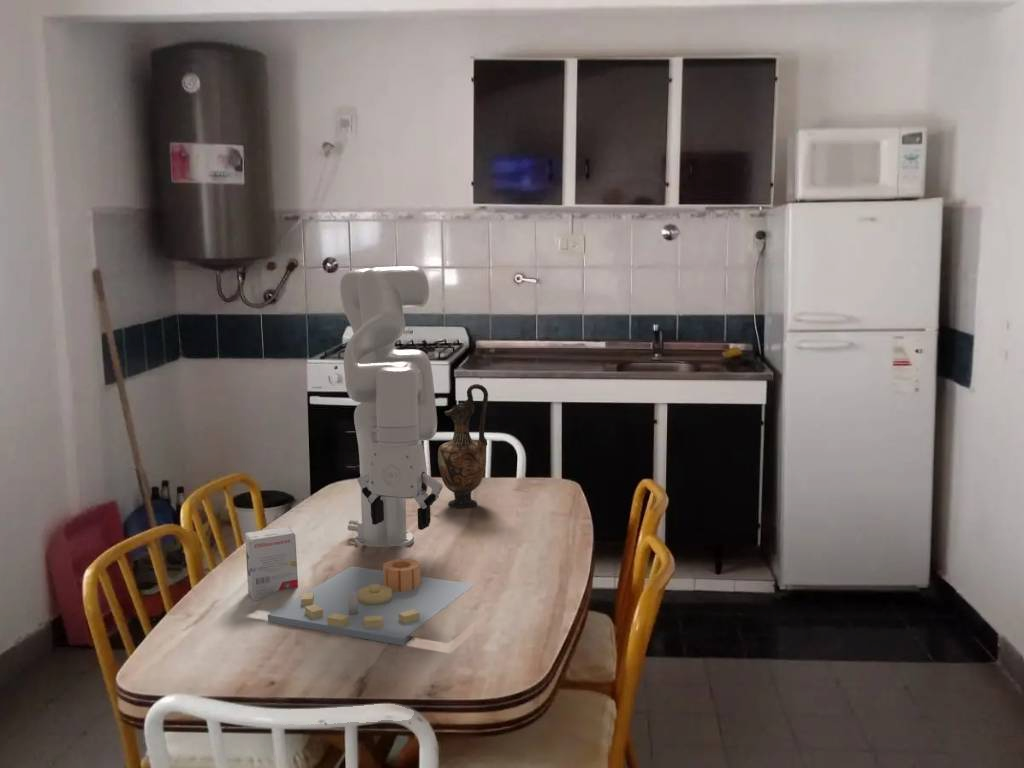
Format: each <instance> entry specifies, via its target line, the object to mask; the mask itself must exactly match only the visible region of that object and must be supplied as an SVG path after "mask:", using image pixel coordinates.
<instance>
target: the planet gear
mask: <svg viewBox="0 0 1024 768" xmlns="http://www.w3.org/2000/svg"><path fill="white" fill-rule="evenodd" d="M382 571H383V586H387V587H390V588H391V590H392V591H396V592H399V591H401V592H404V591H410V590H412V589H416V588H418V587H419V586H420V585H421V584H420V576H421V564H420V563H419V561H417V560H415V559H410V558H397V559H396V558H395V559H391V560H388V561H386V562H385V563H383V564H382Z"/></svg>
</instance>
